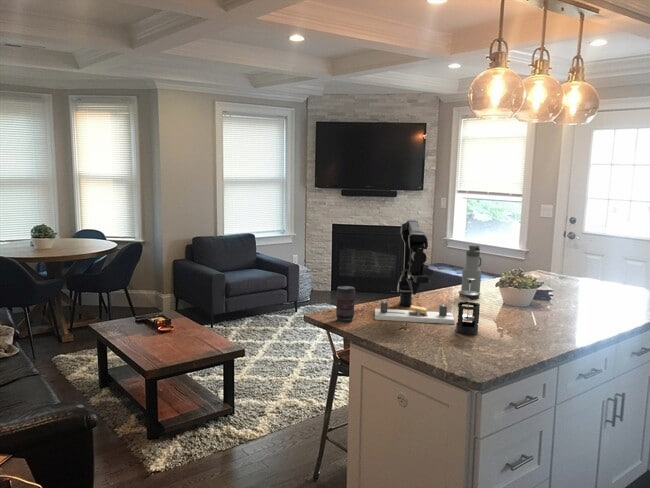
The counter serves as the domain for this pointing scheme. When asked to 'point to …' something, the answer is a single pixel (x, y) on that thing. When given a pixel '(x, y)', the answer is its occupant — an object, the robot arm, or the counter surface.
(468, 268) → the water bottle
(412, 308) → the tan block
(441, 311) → the slider
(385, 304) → the slider
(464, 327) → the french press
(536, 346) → the counter surface
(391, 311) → the panel
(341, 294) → the camera lens
